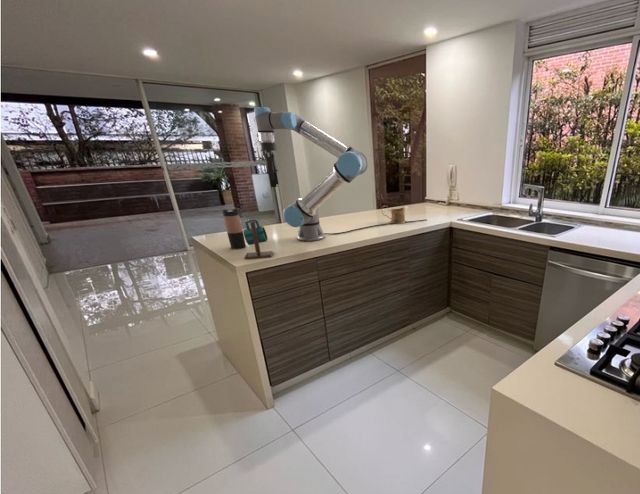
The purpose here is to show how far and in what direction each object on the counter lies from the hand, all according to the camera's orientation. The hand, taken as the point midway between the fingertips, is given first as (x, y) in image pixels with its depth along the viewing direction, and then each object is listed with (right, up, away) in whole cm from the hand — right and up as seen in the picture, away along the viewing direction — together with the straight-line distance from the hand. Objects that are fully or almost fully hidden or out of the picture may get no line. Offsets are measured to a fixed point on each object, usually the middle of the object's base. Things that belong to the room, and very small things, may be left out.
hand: (274, 185), depth 181 cm
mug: (+59, -5, +67) cm, 90 cm away
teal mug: (-10, -28, -11) cm, 32 cm away
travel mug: (-23, -32, +6) cm, 40 cm away
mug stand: (-5, -38, -7) cm, 39 cm away
